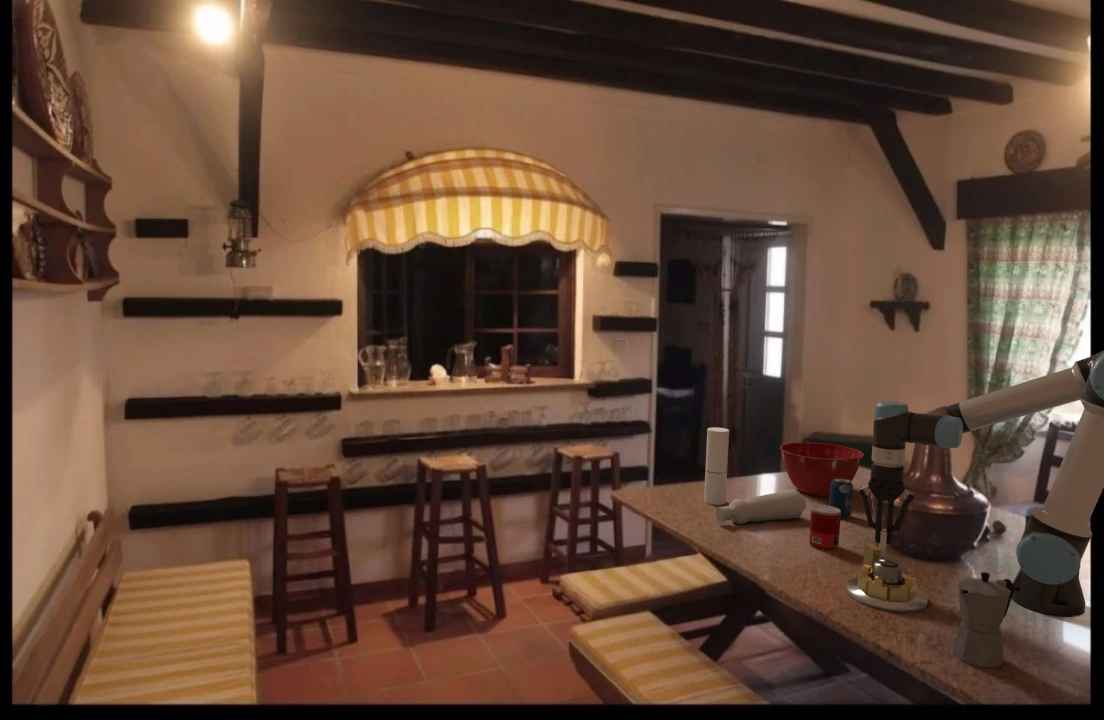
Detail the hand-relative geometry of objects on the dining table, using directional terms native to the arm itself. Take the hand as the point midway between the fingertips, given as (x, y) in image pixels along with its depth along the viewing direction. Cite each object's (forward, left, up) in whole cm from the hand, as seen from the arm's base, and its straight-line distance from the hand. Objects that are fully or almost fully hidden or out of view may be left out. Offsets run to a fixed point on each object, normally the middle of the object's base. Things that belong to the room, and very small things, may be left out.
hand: (882, 555), depth 193 cm
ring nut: (-3, +5, -6) cm, 8 cm away
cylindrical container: (+72, -16, -8) cm, 74 cm away
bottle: (+50, -13, -8) cm, 52 cm away
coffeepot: (-33, +17, -8) cm, 38 cm away
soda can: (+40, -40, -8) cm, 57 cm away
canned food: (+25, -11, -8) cm, 28 cm away
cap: (-5, +6, -7) cm, 11 cm away
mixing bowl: (+62, -59, -8) cm, 86 cm away
